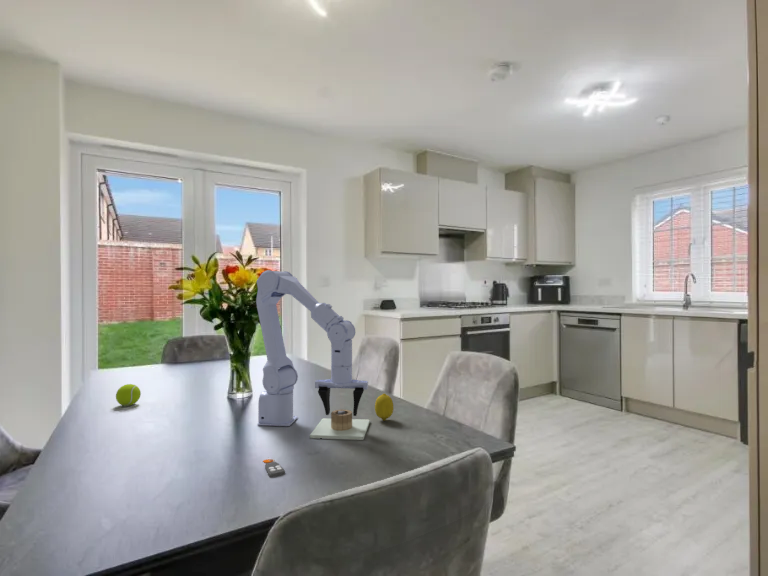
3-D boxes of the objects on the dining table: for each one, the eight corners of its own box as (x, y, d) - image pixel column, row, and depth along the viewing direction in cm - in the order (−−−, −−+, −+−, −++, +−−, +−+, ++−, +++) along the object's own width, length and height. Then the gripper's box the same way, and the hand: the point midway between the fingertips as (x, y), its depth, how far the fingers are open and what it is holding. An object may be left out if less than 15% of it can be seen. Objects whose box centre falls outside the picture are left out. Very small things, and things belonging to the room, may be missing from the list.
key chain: (287, 476, 88) (287, 469, 88) (269, 480, 86) (269, 473, 86) (271, 454, 99) (271, 448, 99) (255, 457, 97) (255, 451, 97)
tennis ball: (144, 402, 142) (144, 382, 142) (133, 408, 135) (133, 386, 135) (124, 402, 141) (124, 382, 141) (111, 408, 134) (111, 387, 134)
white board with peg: (310, 438, 108) (310, 418, 108) (322, 420, 122) (322, 403, 122) (363, 439, 107) (363, 420, 107) (369, 422, 121) (369, 405, 121)
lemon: (391, 424, 119) (391, 396, 119) (372, 422, 120) (372, 395, 120) (394, 418, 125) (395, 391, 125) (377, 417, 126) (377, 390, 126)
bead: (329, 430, 112) (329, 415, 112) (333, 423, 117) (333, 409, 117) (350, 430, 111) (350, 415, 111) (353, 424, 117) (353, 409, 117)
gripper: (312, 367, 111) (311, 418, 111) (365, 368, 110) (365, 419, 110) (318, 362, 118) (318, 410, 118) (369, 363, 117) (368, 411, 117)
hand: (341, 414), depth 115 cm, fingers open, 7 cm apart
